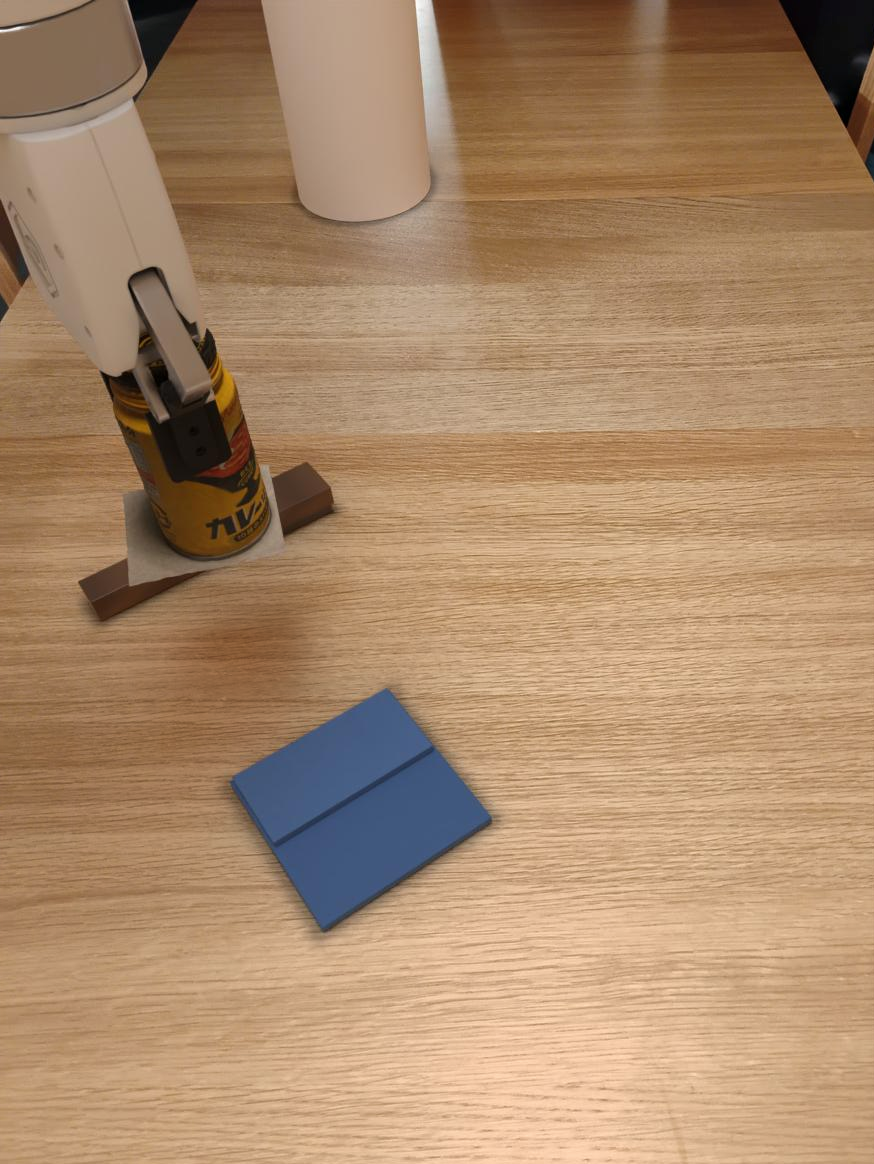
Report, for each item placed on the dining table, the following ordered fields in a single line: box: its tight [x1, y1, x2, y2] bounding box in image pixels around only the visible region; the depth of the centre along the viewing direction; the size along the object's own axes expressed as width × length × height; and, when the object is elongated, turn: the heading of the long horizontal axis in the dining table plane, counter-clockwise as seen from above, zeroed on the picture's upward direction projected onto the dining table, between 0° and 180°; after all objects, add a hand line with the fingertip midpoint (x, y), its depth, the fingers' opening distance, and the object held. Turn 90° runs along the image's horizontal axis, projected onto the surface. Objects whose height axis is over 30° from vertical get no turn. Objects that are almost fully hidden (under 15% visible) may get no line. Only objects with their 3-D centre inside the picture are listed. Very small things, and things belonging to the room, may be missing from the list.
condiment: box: [107, 327, 287, 586], centre depth 51 cm, size 7×8×12 cm
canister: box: [261, 0, 432, 223], centre depth 94 cm, size 14×14×20 cm
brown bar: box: [77, 461, 335, 622], centre depth 70 cm, size 18×4×2 cm, turn 125°
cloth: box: [229, 687, 493, 932], centre depth 57 cm, size 11×11×1 cm
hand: (171, 429), depth 50 cm, fingers closed on condiment, 6 cm apart
